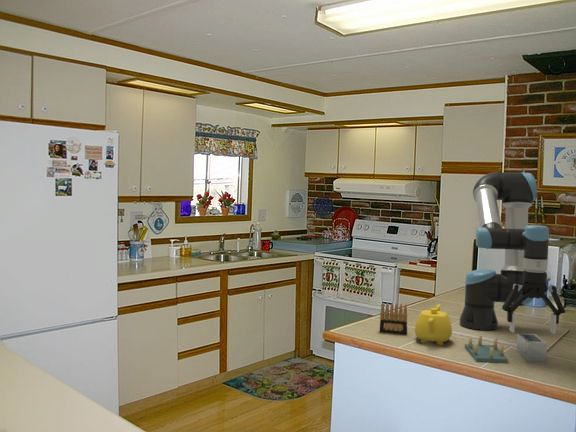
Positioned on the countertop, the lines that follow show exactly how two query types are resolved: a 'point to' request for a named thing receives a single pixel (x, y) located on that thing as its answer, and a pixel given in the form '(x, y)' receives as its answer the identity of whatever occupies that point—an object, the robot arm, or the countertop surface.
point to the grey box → (531, 348)
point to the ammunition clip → (393, 320)
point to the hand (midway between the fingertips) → (532, 332)
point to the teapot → (433, 326)
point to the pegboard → (486, 351)
